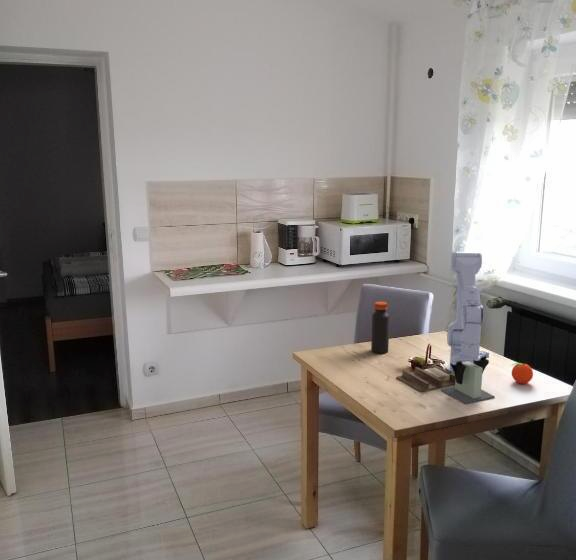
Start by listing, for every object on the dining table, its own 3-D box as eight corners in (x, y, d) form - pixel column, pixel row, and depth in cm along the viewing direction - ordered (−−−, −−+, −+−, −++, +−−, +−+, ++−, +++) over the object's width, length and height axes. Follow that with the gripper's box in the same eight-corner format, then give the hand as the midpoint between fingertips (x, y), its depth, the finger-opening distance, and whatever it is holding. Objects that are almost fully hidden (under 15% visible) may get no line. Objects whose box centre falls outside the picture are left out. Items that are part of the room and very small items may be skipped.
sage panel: (462, 387, 202) (463, 359, 200) (480, 396, 194) (482, 367, 192) (455, 388, 201) (456, 360, 199) (473, 398, 193) (475, 369, 191)
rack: (432, 370, 218) (433, 364, 218) (458, 384, 206) (458, 377, 205) (396, 378, 212) (396, 371, 211) (420, 392, 199) (420, 384, 199)
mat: (469, 384, 205) (469, 383, 205) (494, 397, 195) (494, 396, 194) (441, 390, 200) (441, 389, 200) (465, 404, 190) (465, 402, 190)
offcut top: (435, 370, 215) (435, 367, 214) (449, 377, 208) (449, 374, 207) (423, 372, 213) (423, 369, 212) (437, 379, 206) (438, 377, 205)
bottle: (380, 355, 235) (382, 306, 231) (367, 351, 240) (368, 303, 235) (391, 351, 239) (393, 303, 235) (378, 347, 244) (379, 300, 240)
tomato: (505, 383, 206) (507, 364, 204) (509, 377, 212) (511, 358, 210) (530, 388, 202) (532, 368, 200) (533, 381, 208) (535, 362, 206)
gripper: (461, 348, 187) (458, 389, 190) (496, 342, 193) (494, 381, 196) (446, 342, 193) (444, 381, 196) (481, 336, 199) (479, 374, 202)
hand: (468, 381), depth 197 cm, fingers open, 7 cm apart
